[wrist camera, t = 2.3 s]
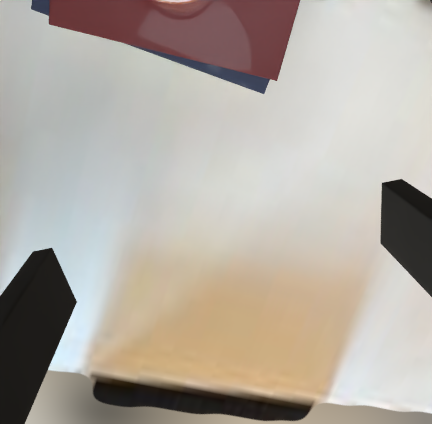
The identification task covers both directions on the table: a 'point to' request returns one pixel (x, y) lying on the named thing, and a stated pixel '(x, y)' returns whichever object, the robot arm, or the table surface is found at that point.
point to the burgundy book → (191, 29)
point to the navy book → (191, 61)
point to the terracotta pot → (179, 4)
